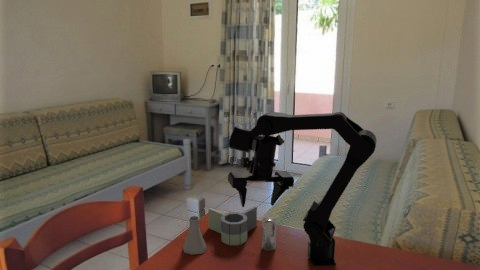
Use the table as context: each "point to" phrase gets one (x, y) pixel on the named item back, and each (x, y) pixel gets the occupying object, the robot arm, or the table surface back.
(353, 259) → the table surface
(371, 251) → the table surface
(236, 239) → the pale green bracket
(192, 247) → the flask
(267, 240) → the pin
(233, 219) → the grey hollow faceted fixture
